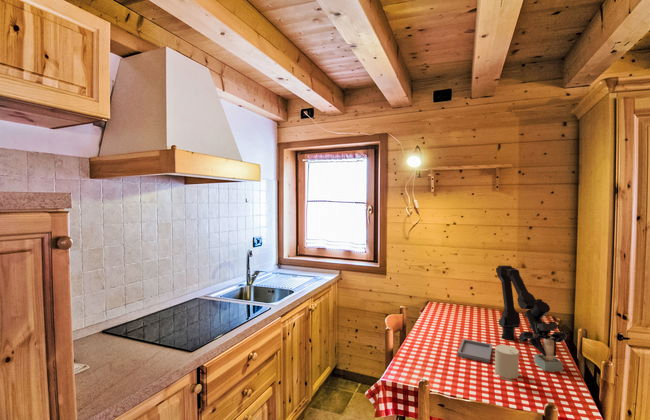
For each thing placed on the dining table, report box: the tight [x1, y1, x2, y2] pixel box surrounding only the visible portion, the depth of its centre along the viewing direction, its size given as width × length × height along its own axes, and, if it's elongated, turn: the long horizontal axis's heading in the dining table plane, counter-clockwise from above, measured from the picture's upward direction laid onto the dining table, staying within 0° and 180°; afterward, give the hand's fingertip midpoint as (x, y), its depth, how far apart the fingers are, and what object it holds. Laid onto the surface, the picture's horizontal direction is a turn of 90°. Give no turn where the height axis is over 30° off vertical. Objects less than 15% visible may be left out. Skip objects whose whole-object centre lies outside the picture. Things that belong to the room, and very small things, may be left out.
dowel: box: [542, 338, 555, 362], centre depth 148 cm, size 4×4×12 cm
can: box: [494, 344, 520, 382], centre depth 143 cm, size 9×9×12 cm
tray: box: [457, 338, 493, 364], centre depth 165 cm, size 18×14×2 cm
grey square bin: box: [533, 353, 564, 372], centre depth 148 cm, size 8×8×5 cm
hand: (550, 356), depth 147 cm, fingers closed on dowel, 4 cm apart
